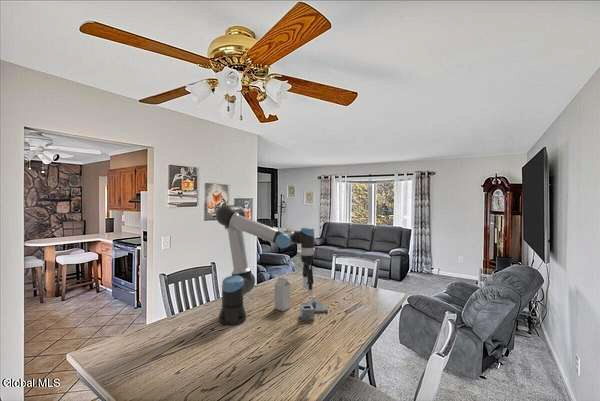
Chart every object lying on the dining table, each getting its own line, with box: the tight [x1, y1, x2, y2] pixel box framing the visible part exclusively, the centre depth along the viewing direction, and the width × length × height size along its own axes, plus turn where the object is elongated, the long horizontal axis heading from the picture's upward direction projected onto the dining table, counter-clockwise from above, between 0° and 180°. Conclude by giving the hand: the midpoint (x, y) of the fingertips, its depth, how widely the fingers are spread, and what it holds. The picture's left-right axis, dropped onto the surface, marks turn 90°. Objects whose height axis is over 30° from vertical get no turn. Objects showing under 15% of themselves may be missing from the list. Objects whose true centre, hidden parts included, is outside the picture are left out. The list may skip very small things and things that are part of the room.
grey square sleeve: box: [299, 304, 315, 322], centre depth 165 cm, size 7×7×6 cm
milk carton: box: [274, 276, 292, 312], centre depth 179 cm, size 7×7×19 cm
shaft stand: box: [300, 294, 329, 314], centre depth 179 cm, size 14×14×8 cm
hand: (307, 291), depth 165 cm, fingers open, 13 cm apart
